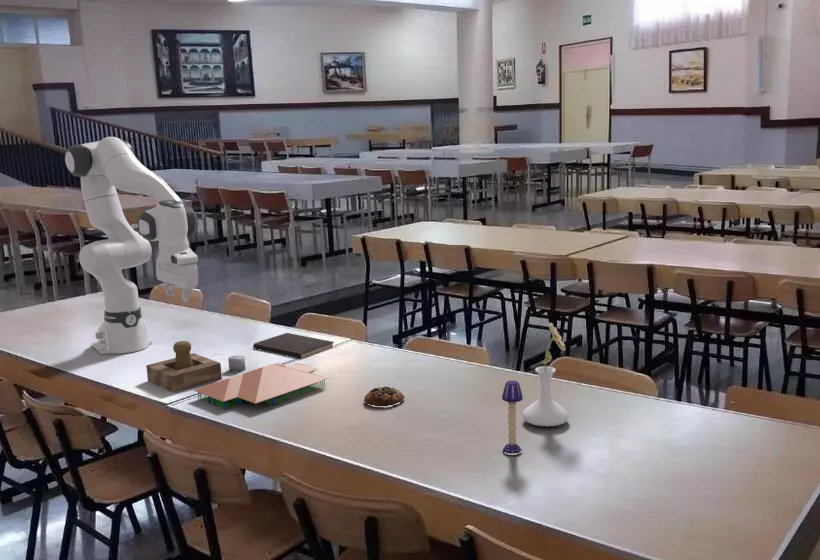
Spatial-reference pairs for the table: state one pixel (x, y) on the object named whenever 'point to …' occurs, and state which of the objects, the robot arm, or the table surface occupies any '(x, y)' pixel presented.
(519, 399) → the toy lamp
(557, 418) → the flower in vase
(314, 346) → the hardcover book
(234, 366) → the short stub
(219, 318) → the table surface
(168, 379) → the box
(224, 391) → the house
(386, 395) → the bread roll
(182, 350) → the cork
